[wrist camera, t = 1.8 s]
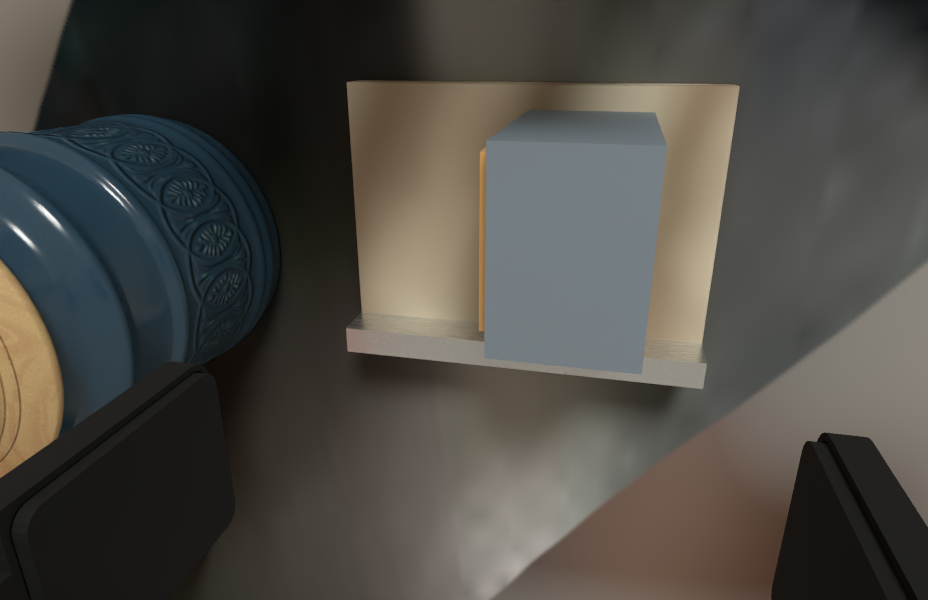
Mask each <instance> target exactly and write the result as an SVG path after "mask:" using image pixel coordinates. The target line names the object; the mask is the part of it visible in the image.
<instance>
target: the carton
mask: <svg viewBox="0 0 928 600" xmlns="http://www.w3.org/2000/svg"><path fill="white" fill-rule="evenodd" d="M666 152H667V144H666V141H665V139H664V136H663V133H662V130H661V127H660V125H659V122H658V119H657V116H656V113H655V112H615V111H565V110H529V111H527V112H526V113H524V114H523V115H522V116H520V117H519V118H517V119H516V120H514V121H513V122H512V123H510V124H509V125H507V126H506V127H505V128H503V129H502V130H500V131H499V132H497V133H496V134H495V135H493V136H492V137H490V138H489V139H488V140H486V148H485V149H483V150H482V151H481V152H480V204H479V331H484V358H486V359H496V360H505V361H515V362H525V363H534V364H544V365H554V366H563V367H573V368H583V369H592V370H602V371H612V372H621V373H631V374H641V375H642V368H643V359H644V350H645V341H646V332H647V323H648V314H649V305H650V296H651V287H652V278H653V269H654V260H655V251H656V242H657V233H658V224H659V215H660V206H661V197H662V188H663V179H664V170H665V161H666Z"/></svg>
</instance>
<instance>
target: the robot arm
mask: <svg viewBox="0 0 928 600" xmlns="http://www.w3.org/2000/svg"><path fill="white" fill-rule="evenodd" d="M234 511H235V498H234V492H233V486H232V479H231V473H230V467H229V460H228V454H227V447H226V441H225V435H224V428H223V422H222V416H221V409H220V403H219V396H218V390H217V384H216V380H215V378H214V377H213V376H212V375H211V374H209V373H208V371H207V369H206V368H205V367H204V366H202V365H199V364H190V363H181V362H167V363H165V364H163V365H162V366H160V367H159V368H157V369H156V370H154V371H153V372H152V373H150V374H149V375H147V376H146V377H144V378H143V379H142V380H140V381H139V382H137V383H136V384H134V385H133V386H132V387H130V388H129V389H127V390H126V391H124V392H123V393H121V394H120V395H119V396H117V397H116V398H114V399H113V400H111V401H110V402H109V403H107V404H106V405H104V406H103V407H101V408H100V409H99V410H97V411H96V412H94V413H93V414H91V415H90V416H89V417H87V418H86V419H84V420H83V421H81V422H80V423H78V424H77V425H76V426H74V427H73V428H71V429H70V430H68V431H67V432H66V433H64V434H63V435H61V436H60V437H58V438H57V439H56V440H54V441H53V442H51V443H50V444H48V445H47V446H46V447H44V448H43V449H41V450H40V451H38V452H37V453H36V454H34V455H33V456H31V457H30V458H28V459H27V460H25V461H24V462H23V463H21V464H20V465H18V466H17V467H15V468H14V469H13V470H11V471H10V472H8V473H7V474H5V475H4V476H3V477H1V478H0V600H168V599H169V598H170V597H171V595H172V594H173V593H174V592H175V591H176V589H177V588H178V587H179V586H180V584H181V583H182V582H183V581H184V579H185V578H186V577H187V576H188V575H189V573H190V572H191V571H192V570H193V568H194V567H195V566H196V565H197V564H198V562H199V561H200V560H201V559H202V557H203V556H204V555H205V554H206V552H207V551H208V550H209V549H210V548H211V546H212V545H213V544H214V543H215V541H216V540H217V539H218V538H219V537H220V535H221V534H222V533H223V532H224V530H225V529H226V528H227V527H228V525H229V524H230V522H231V520H232V518H233V515H234ZM771 597H772V600H928V527H927V526H926V524H925V522H924V521H923V519H922V518H921V516H920V515H919V513H918V512H917V510H916V508H915V507H914V505H913V504H912V502H911V501H910V499H909V498H908V496H907V494H906V493H905V491H904V490H903V488H902V487H901V485H900V484H899V482H898V480H897V479H896V477H895V476H894V474H893V473H892V471H891V470H890V468H889V467H888V465H887V463H886V462H885V460H884V459H883V457H882V456H881V454H880V452H879V451H878V449H877V448H876V446H875V445H874V443H873V442H872V441H871V440H870V438H867V437H860V436H850V435H841V434H833V433H832V434H831V433H822V434H821V435H820V437H819V438H818V441H817V442H813V441H807V442H806V443H805V445H804V446H803V450H802V454H801V458H800V463H799V468H798V472H797V476H796V481H795V485H794V490H793V495H792V499H791V504H790V508H789V513H788V517H787V522H786V526H785V531H784V535H783V540H782V544H781V549H780V554H779V558H778V562H777V567H776V571H775V576H774V580H773V585H772V595H771Z"/></svg>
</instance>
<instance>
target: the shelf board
mask: <svg viewBox="0 0 928 600" xmlns="http://www.w3.org/2000/svg"><path fill="white" fill-rule="evenodd" d="M739 88H740V87H739V86H737V85H734V84H664V83H571V82H477V81H384V80H358V81H351V82H347V96H348V111H349V126H350V141H351V156H352V171H353V186H354V201H355V216H356V231H357V246H358V261H359V276H360V291H361V306H362V312H361V313H360V314H359V315H358V316H357V318H356V319H355V320H354V321H353V322H352V323H351V324H350V325H349V326H348V327H347V328H346V335H347V348H348V351H349V352H359V353H368V354H377V355H387V356H396V357H406V358H415V359H425V360H434V361H443V362H453V363H462V364H472V365H481V366H491V367H500V368H509V369H519V370H528V371H538V372H547V373H557V374H566V375H575V376H585V377H594V378H604V379H613V380H623V381H632V382H641V383H651V384H660V385H670V386H679V387H689V388H698V389H703V386H704V379H705V373H706V366H707V362H706V358H705V354H704V350H703V345H702V340H703V333H704V326H705V319H706V312H707V306H708V299H709V292H710V285H711V278H712V272H713V265H714V258H715V251H716V244H717V238H718V231H719V224H720V217H721V210H722V203H723V197H724V190H725V183H726V176H727V169H728V163H729V156H730V149H731V142H732V135H733V128H734V122H735V115H736V108H737V101H738V94H739ZM529 110H565V111H615V112H655V113H656V116H657V119H658V122H659V125H660V127H661V130H662V133H663V136H664V139H665V141H666V144H667V152H666V161H665V170H664V179H663V188H662V197H661V206H660V215H659V224H658V233H657V242H656V251H655V260H654V269H653V278H652V287H651V296H650V305H649V314H648V323H647V332H646V341H645V350H644V359H643V368H642V375H641V374H631V373H621V372H612V371H602V370H592V369H583V368H573V367H563V366H554V365H544V364H534V363H525V362H515V361H505V360H496V359H486V358H484V331H479V204H480V152H481V151H482V150H483V149H485V148H486V140H488V139H489V138H490V137H492V136H493V135H495V134H496V133H497V132H499V131H500V130H502V129H503V128H505V127H506V126H507V125H509V124H510V123H512V122H513V121H514V120H516V119H517V118H519V117H520V116H522V115H523V114H524V113H526V112H527V111H529Z"/></svg>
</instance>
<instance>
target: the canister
mask: <svg viewBox="0 0 928 600" xmlns="http://www.w3.org/2000/svg"><path fill="white" fill-rule="evenodd" d="M279 270H280V246H279V239H278V233H277V229H276V225H275V221H274V218H273V215H272V212H271V210H270V207H269V205H268V203H267V200H266V198H265V196H264V194H263V193H262V191H261V189H260V187H259V186H258V184H257V182H256V181H255V179H254V178H253V176H252V175H251V174H250V172H249V171H248V170H247V169H246V167H245V166H244V165H243V164H242V163H241V162H240V160H239V159H238V158H237V157H236V156H235V155H234V154H233V153H232V152H230V151H229V150H228V149H227V148H226V147H225V146H224V145H222V144H221V143H220V142H218V141H217V140H216V139H214V138H213V137H211V136H210V135H208V134H206V133H205V132H203V131H201V130H199V129H197V128H195V127H193V126H190V125H188V124H185V123H182V122H179V121H176V120H172V119H167V118H161V117H154V116H149V115H141V114H121V115H114V116H106V117H100V118H95V119H92V120H89V121H86V122H84V123H82V124H79V125H75V126H68V127H62V128H55V129H49V130H42V131H36V132H30V133H23V132H0V478H1V477H3V476H4V475H5V474H7V473H8V472H10V471H11V470H13V469H14V468H15V467H17V466H18V465H20V464H21V463H23V462H24V461H25V460H27V459H28V458H30V457H31V456H33V455H34V454H36V453H37V452H38V451H40V450H41V449H43V448H44V447H46V446H47V445H48V444H50V443H51V442H53V441H54V440H56V439H57V438H58V437H60V436H61V435H63V434H64V433H66V432H67V431H68V430H70V429H71V428H73V427H74V426H76V425H77V424H78V423H80V422H81V421H83V420H84V419H86V418H87V417H89V416H90V415H91V414H93V413H94V412H96V411H97V410H99V409H100V408H101V407H103V406H104V405H106V404H107V403H109V402H110V401H111V400H113V399H114V398H116V397H117V396H119V395H120V394H121V393H123V392H124V391H126V390H127V389H129V388H130V387H132V386H133V385H134V384H136V383H137V382H139V381H140V380H142V379H143V378H144V377H146V376H147V375H149V374H150V373H152V372H153V371H154V370H156V369H157V368H159V367H160V366H162V365H163V364H165V363H167V362H181V363H190V364H199V365H204V364H205V363H206V362H208V361H209V360H210V359H213V358H215V357H217V356H219V355H221V354H223V353H225V352H226V351H228V350H229V349H231V348H232V347H233V346H234V345H236V344H237V343H238V342H239V341H241V340H242V339H243V338H244V337H245V336H246V335H247V334H248V333H249V332H250V331H251V330H252V329H253V328H254V326H255V325H256V324H257V322H258V321H259V319H260V317H261V316H262V314H263V313H264V312H265V310H266V309H267V307H268V305H269V303H270V302H271V299H272V297H273V295H274V292H275V289H276V286H277V282H278V277H279Z"/></svg>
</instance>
